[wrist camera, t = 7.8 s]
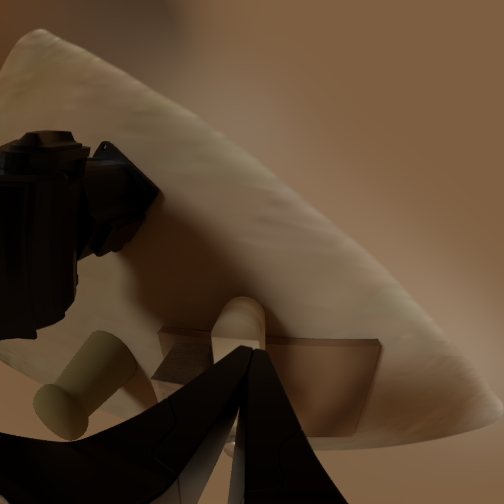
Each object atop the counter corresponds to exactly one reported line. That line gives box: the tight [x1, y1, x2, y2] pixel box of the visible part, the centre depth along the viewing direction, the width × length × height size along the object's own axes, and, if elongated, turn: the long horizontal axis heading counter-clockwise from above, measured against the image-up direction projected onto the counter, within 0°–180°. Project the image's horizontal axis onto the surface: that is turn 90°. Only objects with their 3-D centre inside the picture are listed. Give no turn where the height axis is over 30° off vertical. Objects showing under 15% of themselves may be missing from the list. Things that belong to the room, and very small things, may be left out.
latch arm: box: [211, 296, 265, 446], centre depth 20 cm, size 15×4×3 cm, turn 1°
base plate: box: [158, 326, 380, 437], centre depth 23 cm, size 18×12×1 cm, turn 91°
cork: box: [33, 331, 136, 441], centre depth 20 cm, size 6×6×11 cm
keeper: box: [151, 342, 239, 458], centre depth 21 cm, size 9×8×6 cm
